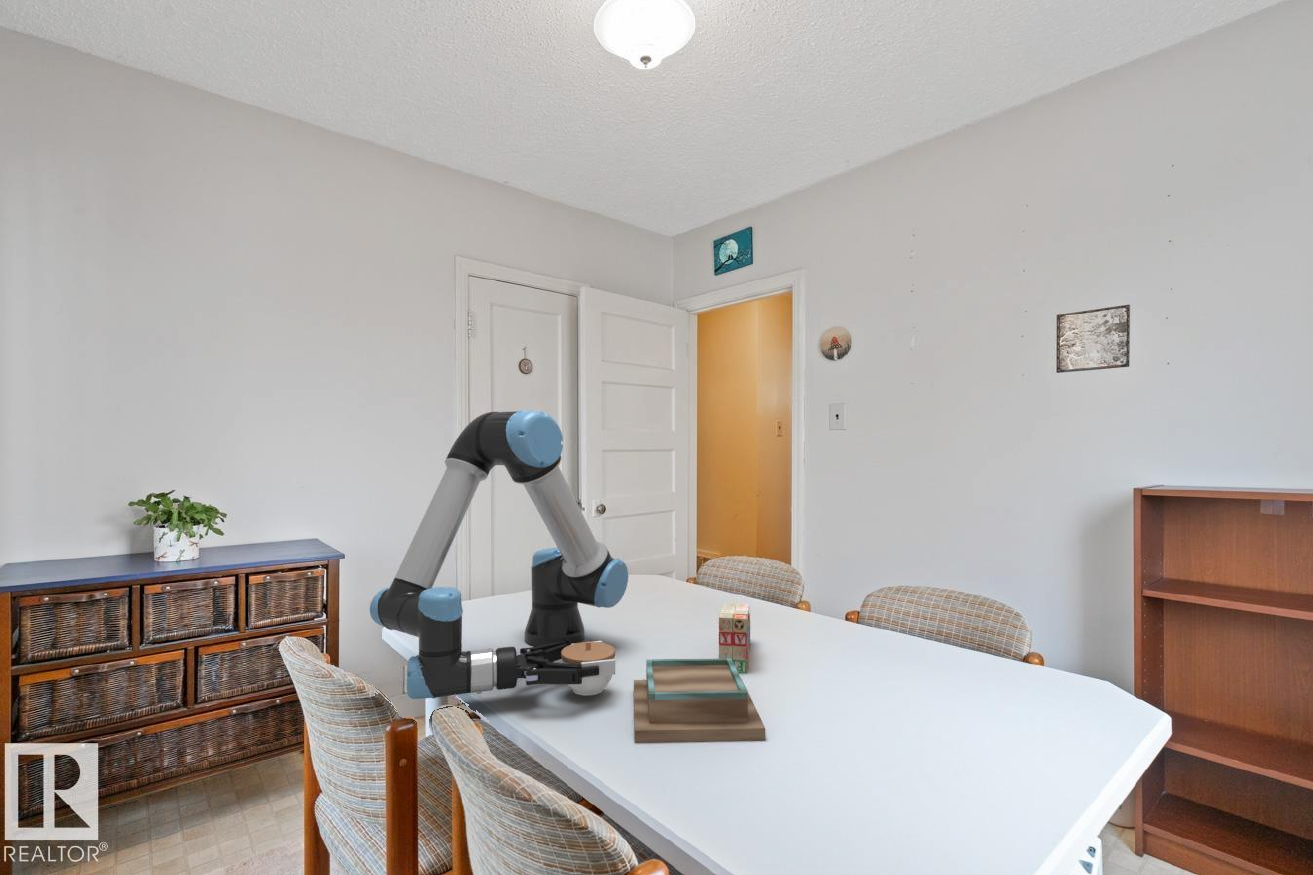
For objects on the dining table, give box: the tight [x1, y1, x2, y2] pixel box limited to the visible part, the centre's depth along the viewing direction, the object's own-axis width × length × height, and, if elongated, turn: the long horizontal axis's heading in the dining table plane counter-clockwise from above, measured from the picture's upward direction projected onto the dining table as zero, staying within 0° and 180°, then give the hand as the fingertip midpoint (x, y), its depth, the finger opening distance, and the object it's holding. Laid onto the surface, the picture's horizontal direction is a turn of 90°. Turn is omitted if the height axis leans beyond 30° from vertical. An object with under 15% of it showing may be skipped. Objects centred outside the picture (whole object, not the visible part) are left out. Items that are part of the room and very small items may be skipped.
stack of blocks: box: [718, 602, 751, 675], centre depth 144 cm, size 21×6×12 cm, turn 169°
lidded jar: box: [561, 641, 616, 697], centre depth 122 cm, size 11×11×9 cm
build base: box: [633, 658, 766, 744], centre depth 114 cm, size 22×22×7 cm
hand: (608, 656), depth 123 cm, fingers closed on lidded jar, 11 cm apart
